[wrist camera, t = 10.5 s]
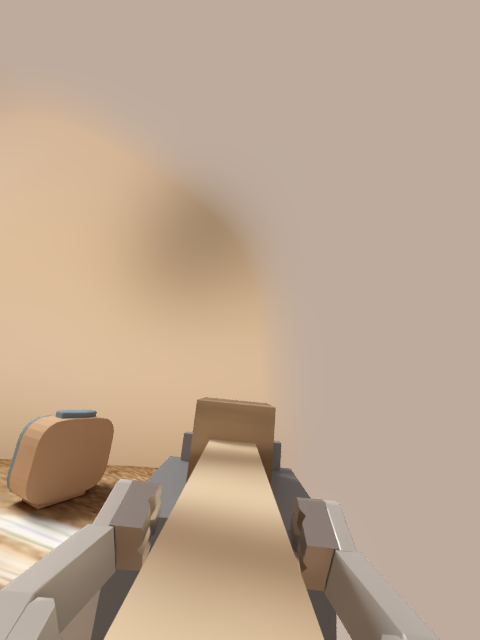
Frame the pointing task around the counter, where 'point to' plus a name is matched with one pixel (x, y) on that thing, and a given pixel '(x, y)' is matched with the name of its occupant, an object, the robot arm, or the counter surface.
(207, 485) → the mallet
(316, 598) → the riser
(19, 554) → the counter surface
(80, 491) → the alarm clock
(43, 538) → the counter surface
